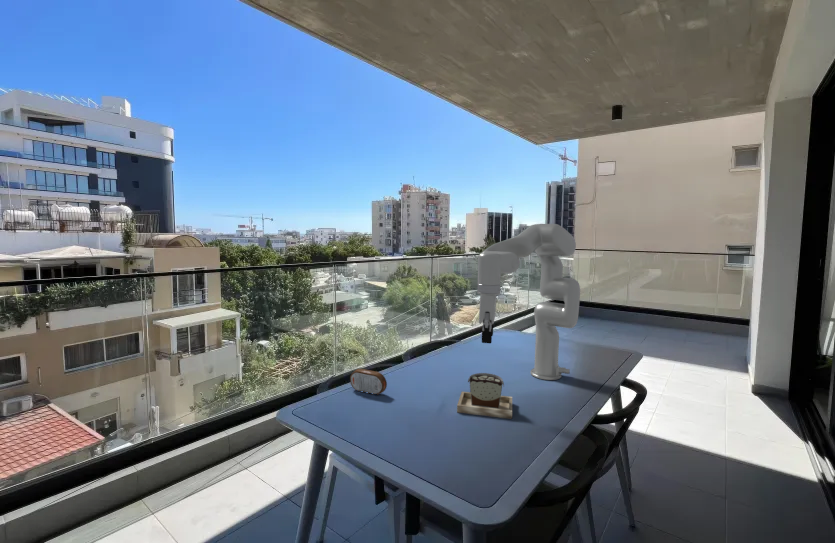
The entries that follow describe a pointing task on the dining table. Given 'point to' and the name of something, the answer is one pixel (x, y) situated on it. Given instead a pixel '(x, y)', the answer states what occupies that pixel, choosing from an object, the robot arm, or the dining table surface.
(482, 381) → the food container
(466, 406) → the holder tray
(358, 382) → the tin
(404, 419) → the dining table surface
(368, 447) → the dining table surface
